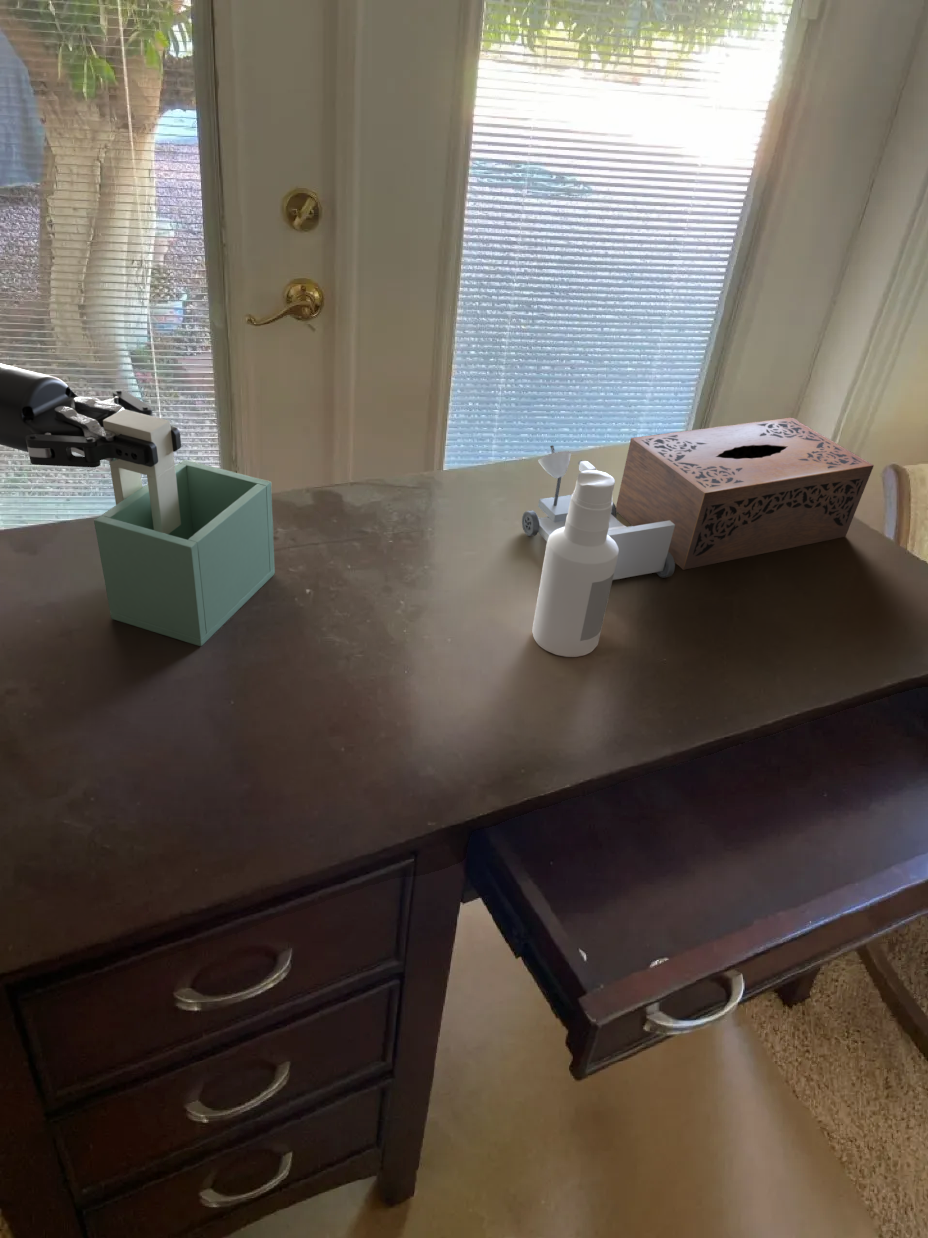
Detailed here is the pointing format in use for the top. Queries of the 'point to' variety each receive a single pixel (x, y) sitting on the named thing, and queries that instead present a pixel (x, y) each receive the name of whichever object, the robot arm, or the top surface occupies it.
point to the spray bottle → (578, 571)
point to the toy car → (636, 544)
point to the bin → (188, 553)
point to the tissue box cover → (742, 489)
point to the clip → (158, 476)
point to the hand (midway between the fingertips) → (166, 447)
